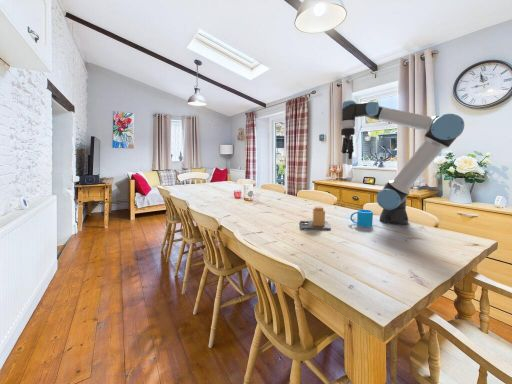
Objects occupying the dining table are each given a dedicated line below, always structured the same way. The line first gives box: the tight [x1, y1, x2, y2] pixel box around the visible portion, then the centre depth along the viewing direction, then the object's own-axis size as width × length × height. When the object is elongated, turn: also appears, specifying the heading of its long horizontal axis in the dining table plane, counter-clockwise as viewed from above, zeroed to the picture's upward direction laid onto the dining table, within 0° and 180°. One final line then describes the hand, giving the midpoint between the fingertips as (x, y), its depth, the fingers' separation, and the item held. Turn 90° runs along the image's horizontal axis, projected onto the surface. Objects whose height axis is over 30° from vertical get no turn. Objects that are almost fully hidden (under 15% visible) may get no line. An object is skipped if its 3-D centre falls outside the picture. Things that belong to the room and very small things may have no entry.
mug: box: [350, 209, 374, 228], centre depth 142 cm, size 12×8×8 cm
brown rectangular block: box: [312, 206, 326, 226], centre depth 140 cm, size 6×6×10 cm
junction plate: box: [299, 220, 332, 231], centre depth 141 cm, size 16×14×6 cm
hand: (346, 164), depth 148 cm, fingers open, 13 cm apart
